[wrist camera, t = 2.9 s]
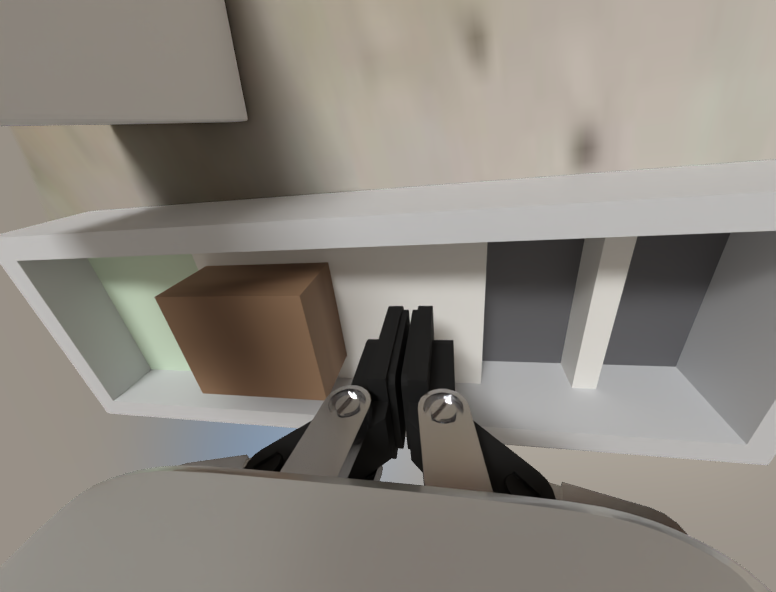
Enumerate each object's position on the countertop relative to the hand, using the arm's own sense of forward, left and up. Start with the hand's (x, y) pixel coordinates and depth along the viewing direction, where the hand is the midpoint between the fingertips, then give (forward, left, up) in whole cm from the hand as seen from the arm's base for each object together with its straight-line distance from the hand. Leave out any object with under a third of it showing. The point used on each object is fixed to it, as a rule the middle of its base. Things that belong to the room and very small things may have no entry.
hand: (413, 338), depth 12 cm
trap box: (+1, +2, -4) cm, 5 cm away
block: (+4, +6, -2) cm, 7 cm away
